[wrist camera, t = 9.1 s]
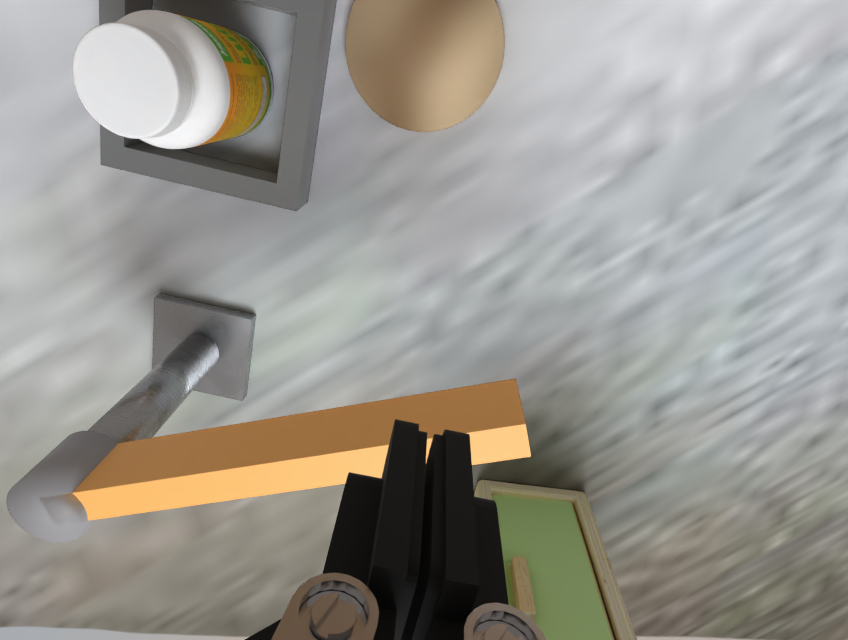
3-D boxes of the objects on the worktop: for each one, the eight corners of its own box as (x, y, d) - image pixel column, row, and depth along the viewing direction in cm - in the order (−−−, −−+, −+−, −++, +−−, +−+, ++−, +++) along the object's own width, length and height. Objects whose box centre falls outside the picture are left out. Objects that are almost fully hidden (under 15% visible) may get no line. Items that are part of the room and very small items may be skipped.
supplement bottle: (289, 55, 28) (214, 41, 19) (258, 153, 30) (178, 181, 21) (189, 7, 28) (64, -31, 19) (165, 110, 30) (41, 120, 21)
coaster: (523, -21, 26) (524, -23, 26) (479, 146, 30) (480, 147, 29) (362, -63, 26) (360, -67, 26) (335, 111, 29) (333, 111, 29)
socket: (336, -2, 27) (326, -10, 25) (307, 202, 31) (296, 211, 29) (128, -55, 27) (98, -69, 24) (127, 159, 31) (100, 164, 28)
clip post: (255, 314, 34) (168, 416, 24) (246, 394, 37) (163, 519, 26) (160, 293, 34) (29, 386, 23) (157, 375, 36) (37, 493, 26)
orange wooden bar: (80, 493, 25) (31, 547, 22) (47, 436, 24) (-9, 485, 21) (523, 426, 23) (534, 476, 20) (512, 358, 21) (521, 402, 18)
